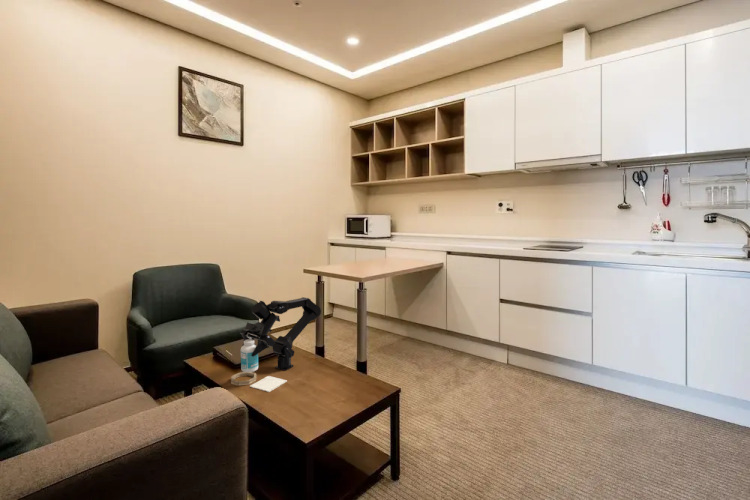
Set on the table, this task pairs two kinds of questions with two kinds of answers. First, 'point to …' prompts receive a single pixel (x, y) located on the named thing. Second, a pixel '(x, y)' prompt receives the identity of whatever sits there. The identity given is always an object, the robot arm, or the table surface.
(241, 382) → the ring holder
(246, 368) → the pill bottle
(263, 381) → the white square cloth
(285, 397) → the table surface
